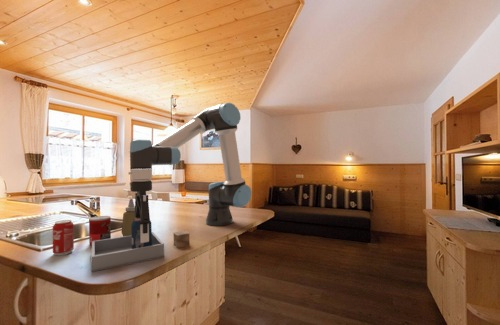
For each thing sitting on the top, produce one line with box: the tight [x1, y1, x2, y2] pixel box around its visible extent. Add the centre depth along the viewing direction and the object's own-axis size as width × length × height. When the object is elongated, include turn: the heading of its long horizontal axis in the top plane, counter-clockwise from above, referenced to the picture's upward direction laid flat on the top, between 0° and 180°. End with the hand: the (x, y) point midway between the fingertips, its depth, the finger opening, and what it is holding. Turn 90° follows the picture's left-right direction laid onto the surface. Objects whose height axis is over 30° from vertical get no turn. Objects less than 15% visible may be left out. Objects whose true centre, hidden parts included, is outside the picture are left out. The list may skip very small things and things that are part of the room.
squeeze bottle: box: [121, 198, 135, 237], centre depth 110 cm, size 8×8×18 cm
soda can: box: [131, 218, 153, 249], centre depth 92 cm, size 7×7×12 cm
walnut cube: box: [173, 230, 190, 249], centre depth 100 cm, size 5×5×5 cm
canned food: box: [88, 215, 112, 247], centre depth 104 cm, size 8×8×11 cm
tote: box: [91, 231, 165, 273], centre depth 89 cm, size 22×20×5 cm
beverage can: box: [52, 219, 75, 256], centre depth 92 cm, size 6×6×12 cm
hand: (141, 238), depth 92 cm, fingers open, 12 cm apart
